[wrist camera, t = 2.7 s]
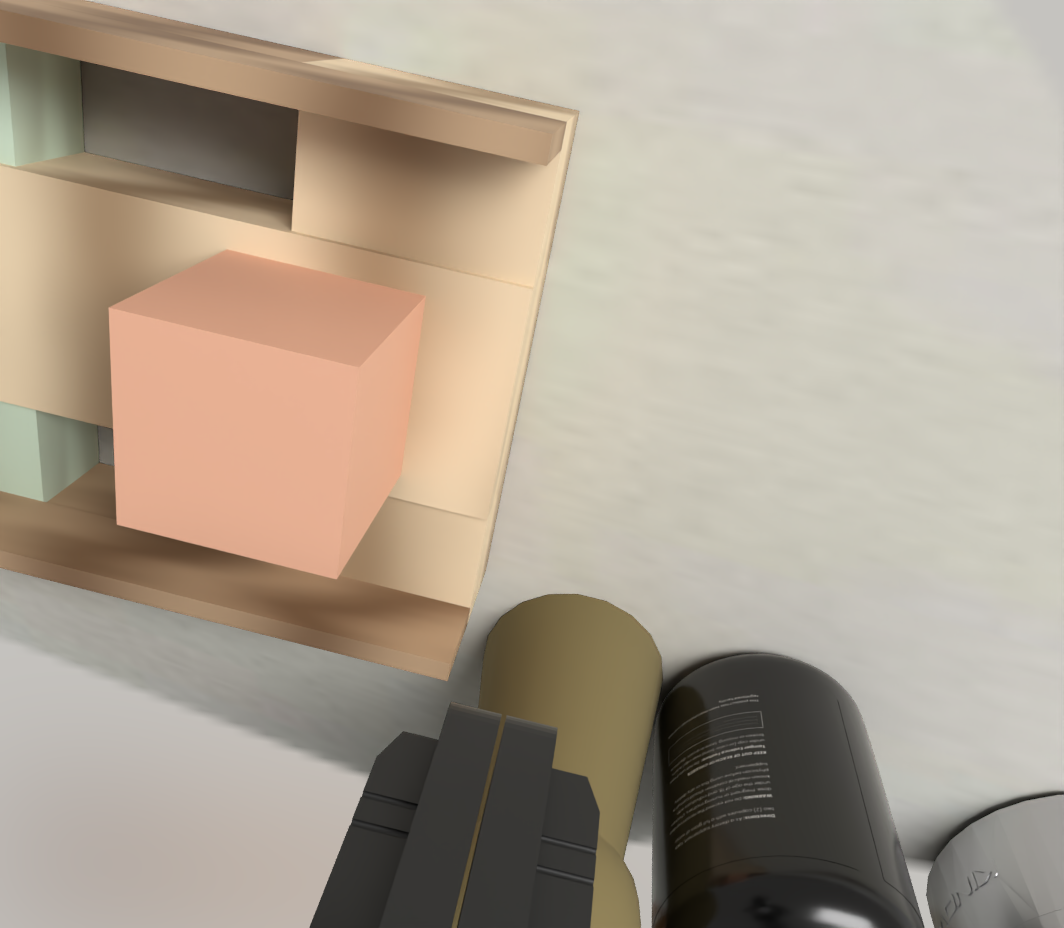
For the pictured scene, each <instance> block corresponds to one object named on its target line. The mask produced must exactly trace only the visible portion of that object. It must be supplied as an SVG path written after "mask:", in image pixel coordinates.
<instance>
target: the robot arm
mask: <svg viewBox="0 0 1064 928" xmlns="http://www.w3.org/2000/svg"><path fill="white" fill-rule="evenodd" d="M501 716H502V714H499V713H495V712H491V711H487V710H483V709H478V708H474V707H470V706H466V705H462V704H458V703H454V702H451V704H450V706H449V709H448V712H447V715H446V718H445V721H444V724H443V728H442V731H441V734H440V737H439V740H436V739H432V738H428V737H424V736H420V735H416V734H412V733H408V732H404V731H403V732H402V733H401V734H400V735H399V736H398V737H397V738H396V739H395V740H394V741H393V742H392V743H391V744H390V745H389V746H388V747H386V748H385V749H384V750H383V751H382V752H381V753H380V754H379V755H378V756H377V758H376V760H375V763H374V765H373V768H372V770H371V773H370V775H369V778H368V780H367V783H366V785H365V788H364V791H363V795H362V797H361V798H360V801H359V803H358V806H357V808H356V811H355V813H354V816H353V819H352V823H351V825H350V826H349V829H348V831H347V834H346V836H345V839H344V841H343V844H342V846H341V849H340V851H339V854H338V856H337V859H336V862H335V864H334V867H333V869H332V872H331V874H330V877H329V880H328V882H327V884H326V887H325V889H324V893H323V895H322V897H321V900H320V902H319V905H318V907H317V910H316V912H315V915H314V918H313V920H312V923H311V925H310V928H452V923H453V919H454V915H455V911H456V906H457V902H458V898H459V894H460V890H461V885H462V881H463V877H464V873H465V869H466V864H467V860H468V856H469V852H470V848H471V843H472V839H473V835H474V831H475V826H476V822H477V818H478V814H479V810H480V805H481V801H482V797H483V793H484V788H485V784H486V780H487V776H488V771H489V767H490V763H491V759H492V754H493V750H494V746H495V742H496V737H497V733H498V729H499V725H500V721H501ZM557 730H558V729H557V727H553V726H549V725H544V724H540V723H536V722H532V721H528V720H524V719H520V718H516V717H512V716H508V715H507V716H506V720H505V724H504V728H503V732H502V737H501V741H500V745H499V749H498V753H497V757H496V762H495V766H494V770H493V774H492V778H491V783H490V787H489V791H488V795H487V799H486V804H485V808H484V812H483V816H482V821H481V825H480V829H479V833H478V838H477V842H476V846H475V851H474V855H473V859H472V864H471V868H470V872H469V877H468V881H467V885H466V890H465V894H464V898H463V902H462V907H461V911H460V915H459V920H458V924H457V928H590V926H591V914H592V902H593V890H594V887H593V883H594V878H595V867H596V850H597V843H598V831H599V819H600V810H599V808H598V805H597V802H596V799H595V797H594V794H593V791H592V788H591V785H590V783H589V780H588V777H586V776H582V775H578V774H574V773H570V772H566V771H562V770H558V769H554V768H552V765H553V758H554V752H555V745H556V739H557ZM926 896H927V900H928V905H929V909H930V914H931V917H932V921H933V924H934V927H935V928H1064V795H1055V796H1049V797H1044V798H1038V799H1033V800H1027V801H1023V802H1020V803H1018V804H1015V805H1012V806H1009V807H1006V808H1003V809H1000V810H997V811H995V812H993V813H991V814H989V815H987V816H985V817H983V818H981V819H979V820H978V821H976V822H974V823H972V824H970V825H969V826H968V827H966V828H965V829H964V830H963V831H961V832H960V833H959V834H958V835H956V836H955V837H954V838H953V839H951V840H950V842H949V843H948V844H947V845H946V846H945V848H944V849H943V850H942V851H941V853H940V854H939V855H938V856H937V858H936V860H935V862H934V864H933V867H932V869H931V871H930V873H929V876H928V884H927V894H926Z"/></svg>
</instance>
